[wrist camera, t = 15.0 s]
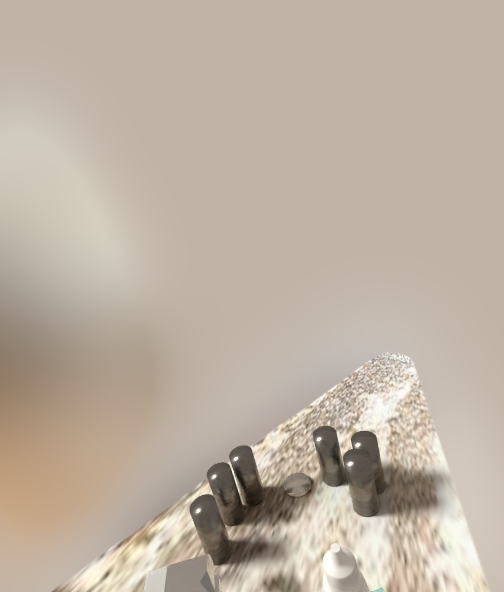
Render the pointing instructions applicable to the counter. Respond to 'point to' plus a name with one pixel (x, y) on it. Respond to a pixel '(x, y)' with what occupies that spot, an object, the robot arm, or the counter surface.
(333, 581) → the eye dropper bottle
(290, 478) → the grey flat disc
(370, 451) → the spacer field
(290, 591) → the counter surface
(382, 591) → the pad
